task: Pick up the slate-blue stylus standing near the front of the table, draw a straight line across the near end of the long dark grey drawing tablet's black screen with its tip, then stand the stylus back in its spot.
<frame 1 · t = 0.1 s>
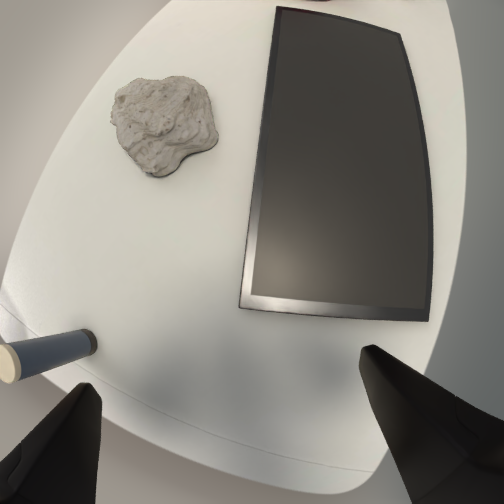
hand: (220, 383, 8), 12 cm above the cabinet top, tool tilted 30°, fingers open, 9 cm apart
stylus: (86, 342, 20), on the cabinet top
tablet: (348, 125, 23), on the cabinet top
stone: (169, 124, 23), on the cabinet top
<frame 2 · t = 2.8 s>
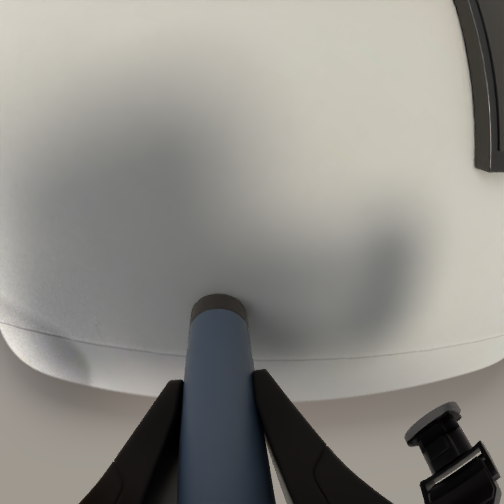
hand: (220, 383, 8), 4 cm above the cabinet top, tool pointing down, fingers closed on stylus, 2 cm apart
stylus: (218, 316, 11), on the cabinet top, touching gripper
when the fingers open (3 cm above the cabinet top, at t = 14.1 s): stylus stays where it is, on the cabinet top.
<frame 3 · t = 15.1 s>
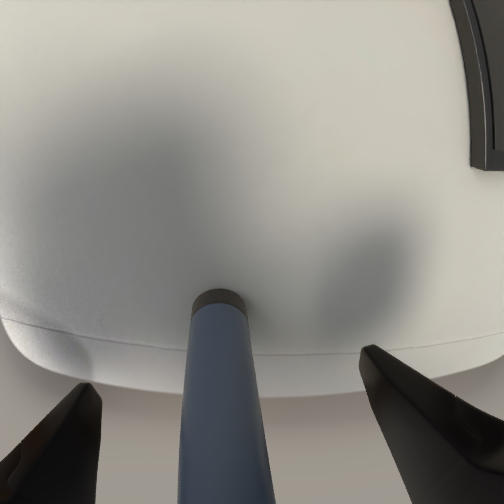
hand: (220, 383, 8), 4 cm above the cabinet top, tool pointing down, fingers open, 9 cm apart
stylus: (219, 311, 12), on the cabinet top
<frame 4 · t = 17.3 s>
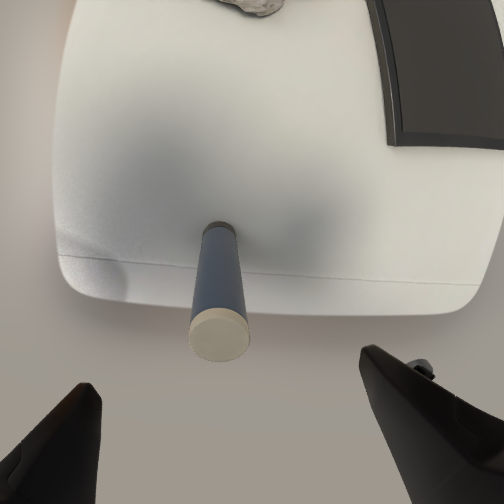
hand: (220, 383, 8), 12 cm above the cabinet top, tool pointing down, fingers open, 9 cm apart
stylus: (219, 237, 19), on the cabinet top
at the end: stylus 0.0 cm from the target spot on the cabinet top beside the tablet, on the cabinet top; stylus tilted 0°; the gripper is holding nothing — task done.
